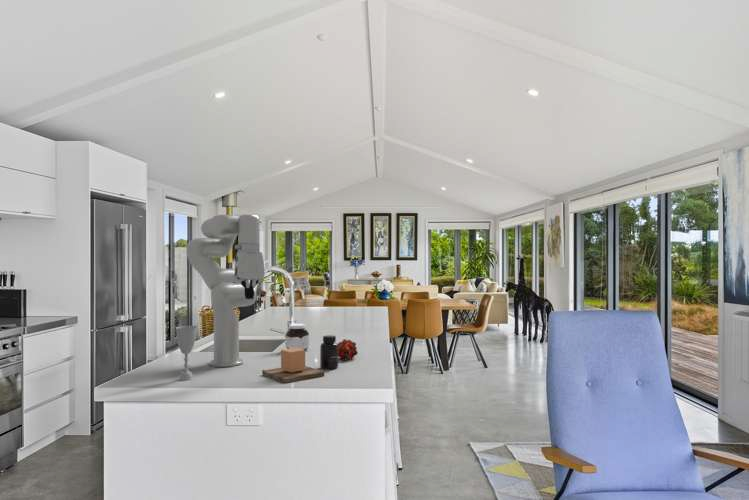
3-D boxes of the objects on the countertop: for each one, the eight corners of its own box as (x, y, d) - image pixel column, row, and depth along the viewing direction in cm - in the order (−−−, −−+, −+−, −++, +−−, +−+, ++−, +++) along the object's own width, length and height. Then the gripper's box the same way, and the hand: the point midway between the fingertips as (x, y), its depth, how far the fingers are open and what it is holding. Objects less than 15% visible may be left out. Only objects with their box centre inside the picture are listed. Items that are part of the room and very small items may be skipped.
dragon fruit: (348, 359, 225) (348, 369, 213) (332, 348, 224) (330, 357, 212) (360, 343, 224) (360, 353, 213) (344, 332, 223) (343, 341, 212)
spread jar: (302, 348, 243) (302, 322, 243) (316, 351, 234) (316, 325, 234) (279, 351, 235) (279, 325, 235) (292, 355, 227) (292, 328, 227)
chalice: (190, 375, 190) (190, 325, 190) (201, 378, 186) (200, 326, 186) (171, 379, 185) (171, 327, 185) (182, 382, 180) (181, 329, 180)
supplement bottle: (335, 370, 198) (335, 337, 198) (317, 369, 199) (317, 337, 199) (340, 366, 205) (340, 335, 205) (323, 365, 206) (323, 334, 206)
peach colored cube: (281, 369, 190) (281, 349, 190) (296, 366, 194) (296, 347, 194) (290, 372, 185) (289, 352, 185) (305, 369, 189) (305, 350, 189)
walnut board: (262, 374, 191) (262, 370, 191) (300, 368, 201) (300, 364, 201) (284, 383, 178) (284, 378, 178) (324, 375, 188) (324, 371, 188)
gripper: (234, 248, 186) (234, 300, 186) (272, 248, 196) (272, 298, 196) (225, 248, 192) (225, 299, 192) (262, 248, 202) (262, 296, 202)
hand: (249, 298), depth 194 cm, fingers closed
